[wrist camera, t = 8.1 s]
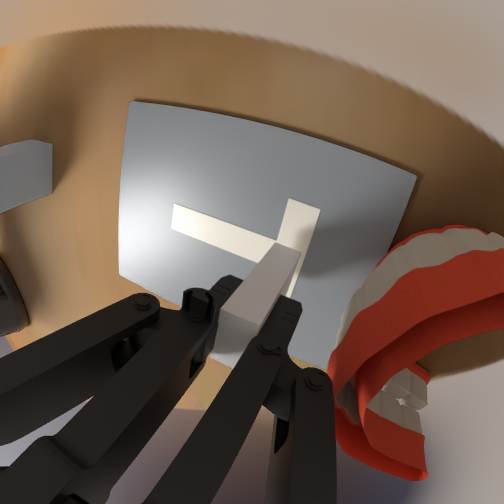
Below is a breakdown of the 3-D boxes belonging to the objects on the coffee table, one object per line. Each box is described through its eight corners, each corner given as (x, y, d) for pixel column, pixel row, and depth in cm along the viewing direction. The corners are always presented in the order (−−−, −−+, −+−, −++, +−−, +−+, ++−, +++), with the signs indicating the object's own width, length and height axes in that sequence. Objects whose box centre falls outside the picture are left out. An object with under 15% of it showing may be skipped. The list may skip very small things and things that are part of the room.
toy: (422, 153, 12) (490, 185, 5) (535, 261, 11) (599, 342, 4) (300, 325, 18) (263, 428, 11) (414, 388, 18) (415, 483, 11)
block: (31, 183, 25) (-20, 201, 19) (31, 139, 23) (-23, 153, 17) (52, 193, 24) (-5, 215, 18) (53, 144, 21) (-10, 159, 15)
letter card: (121, 272, 23) (118, 274, 23) (132, 101, 17) (129, 101, 17) (326, 366, 19) (325, 369, 19) (416, 175, 13) (417, 176, 13)
